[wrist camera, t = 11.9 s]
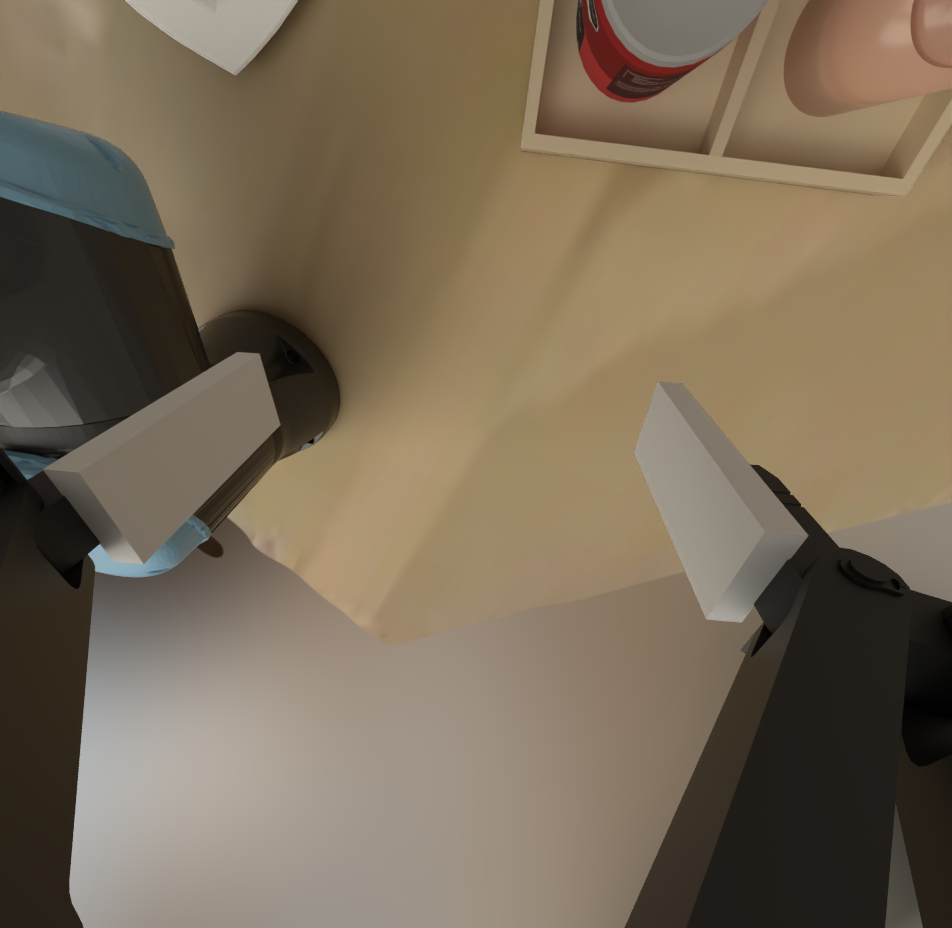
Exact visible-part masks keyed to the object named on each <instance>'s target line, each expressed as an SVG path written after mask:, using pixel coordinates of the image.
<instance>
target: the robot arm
mask: <svg viewBox="0 0 952 928" xmlns="http://www.w3.org/2000/svg"><path fill="white" fill-rule="evenodd" d="M172 248H173V249H175V245H174V242H173V240H172V239H171V238H170V237H168V236H167V234H166V231H165V229H164V226H163V224H162V221H161V219H160V216H159V213H158V211H157V208H156V206H155V203H154V200H153V198H152V195H151V193H150V190H149V187H148V185H147V182H146V180H145V178H144V176H143V174H142V172H141V171H140V169H139V168H138V167H137V165H136V164H135V163H134V162H133V161H132V160H131V159H130V158H129V157H128V156H127V155H126V154H125V153H124V152H123V151H122V150H120V149H119V148H117V147H116V146H114V145H113V144H111V143H110V142H108V141H105V140H103V139H101V138H99V137H97V136H94V135H91V134H88V133H85V132H81V131H78V130H74V129H70V128H67V127H63V126H59V125H56V124H52V123H48V122H44V121H40V120H36V119H32V118H28V117H24V116H20V115H16V114H12V113H8V112H4V111H0V928H83V924H82V922H81V920H80V918H79V916H78V914H77V913H76V911H75V909H74V907H73V905H72V903H71V898H70V893H69V877H70V866H71V853H72V841H73V830H74V817H75V804H76V793H77V781H78V769H79V768H78V767H79V757H80V744H81V733H82V720H83V708H84V696H85V684H86V672H87V660H88V647H89V636H90V624H91V612H92V599H93V587H94V575H95V571H97V572H101V573H105V574H111V575H116V576H125V577H146V576H153V575H156V574H160V573H163V572H166V571H168V570H170V569H171V568H173V567H175V566H176V565H178V564H179V563H180V562H181V561H182V560H183V559H184V558H185V557H186V556H187V555H188V554H189V553H190V552H191V551H193V550H194V549H195V548H196V547H197V546H198V545H199V544H200V543H203V542H204V541H206V540H208V538H209V537H210V536H211V534H212V532H213V531H214V530H215V529H216V528H217V527H218V526H219V525H220V523H221V522H222V521H223V520H224V519H225V518H226V517H227V516H228V515H229V514H230V512H231V511H232V510H233V509H234V508H235V507H236V506H237V505H238V504H239V502H240V501H241V500H242V499H243V498H244V497H245V496H246V495H247V494H248V492H249V491H250V490H251V489H252V488H253V487H254V486H255V485H256V484H257V482H258V481H259V480H260V479H261V478H262V477H263V476H264V475H265V474H266V472H267V471H268V470H269V469H270V468H271V467H272V466H273V465H274V464H275V463H276V462H277V461H279V460H281V459H284V458H286V457H288V456H291V455H293V454H295V453H297V452H299V451H301V450H304V449H306V448H308V447H310V446H312V445H314V444H315V443H316V442H318V441H319V440H320V439H321V438H322V437H323V436H324V435H325V433H326V432H327V431H328V430H329V429H330V428H331V426H332V425H333V423H334V421H335V419H336V417H337V414H338V410H339V391H338V386H337V382H336V379H335V376H334V374H333V372H332V369H331V367H330V366H329V364H328V362H327V360H326V359H325V357H324V356H323V355H322V353H321V352H320V351H319V349H318V348H317V347H316V346H315V345H314V344H313V343H312V342H311V341H310V340H309V339H308V338H307V337H306V336H305V335H304V334H302V333H301V332H300V331H299V330H297V329H296V328H294V327H293V326H291V325H290V324H288V323H286V322H284V321H283V320H280V319H278V318H276V317H274V316H271V315H268V314H264V313H261V312H255V311H235V312H231V313H227V314H225V315H222V316H220V317H217V318H215V319H213V320H211V321H209V322H207V323H205V324H204V325H202V326H201V327H200V328H199V329H198V327H197V324H196V321H195V318H194V315H193V312H192V309H191V306H190V303H189V300H188V297H187V294H186V291H185V288H184V285H183V282H182V279H181V276H180V273H179V270H178V267H177V263H176V260H175V257H174V254H173V251H172ZM634 454H635V456H636V459H637V461H638V463H639V466H640V468H641V470H642V473H643V475H644V477H645V479H646V482H647V484H648V486H649V489H650V491H651V493H652V496H653V498H654V500H655V502H656V505H657V507H658V509H659V512H660V514H661V516H662V519H663V521H664V523H665V525H666V528H667V530H668V532H669V535H670V537H671V539H672V542H673V544H674V546H675V548H676V551H677V553H678V555H679V558H680V560H681V562H682V565H683V567H684V569H685V571H686V574H687V576H688V578H689V581H690V583H691V585H692V588H693V590H694V592H695V594H696V597H697V599H698V601H699V604H700V606H701V608H702V611H703V613H704V615H705V617H706V619H710V620H720V621H732V622H742V621H743V620H744V619H745V617H746V616H747V615H748V613H749V612H750V611H751V610H752V608H753V607H754V606H755V607H756V609H757V611H758V613H759V615H760V616H761V618H762V620H763V624H762V625H761V626H760V627H759V628H758V630H757V631H756V632H755V633H754V634H753V636H752V637H751V638H750V639H749V640H748V642H747V643H746V644H745V645H744V647H743V648H742V649H741V651H743V652H744V653H745V654H746V655H745V657H744V660H743V662H742V664H741V666H740V669H739V671H738V673H737V675H736V678H735V680H734V682H733V684H732V687H731V689H730V691H729V693H728V696H727V698H726V700H725V702H724V705H723V707H722V709H721V711H720V714H719V716H718V718H717V720H716V723H715V725H714V727H713V729H712V732H711V734H710V736H709V738H708V741H707V743H706V745H705V748H704V750H703V752H702V754H701V756H700V759H699V761H698V763H697V766H696V768H695V770H694V772H693V775H692V777H691V779H690V781H689V784H688V786H687V788H686V790H685V793H684V795H683V797H682V799H681V802H680V804H679V806H678V808H677V811H676V813H675V815H674V817H673V820H672V822H671V824H670V826H669V829H668V831H667V833H666V836H665V838H664V840H663V842H662V844H661V847H660V849H659V852H658V854H657V856H656V858H655V860H654V863H653V865H652V867H651V869H650V871H649V874H648V876H647V878H646V881H645V883H644V885H643V887H642V890H641V892H640V894H639V896H638V899H637V901H636V903H635V905H634V908H633V910H632V912H631V914H630V917H629V919H628V921H627V923H626V926H625V928H885V920H886V907H887V896H888V884H889V872H890V860H891V848H892V836H893V824H894V810H895V801H896V805H897V810H898V815H899V819H900V823H901V828H902V833H903V837H904V842H905V846H906V851H907V856H908V861H909V865H910V870H911V874H912V879H913V884H914V888H915V893H916V897H917V902H918V906H919V911H920V916H921V920H922V925H923V928H952V602H949V601H946V600H942V599H939V598H935V597H932V596H929V595H926V594H922V593H919V592H916V591H912V590H910V588H909V587H908V585H907V584H906V583H905V582H904V581H903V579H902V578H901V577H900V576H899V575H898V574H897V573H895V572H894V571H893V570H891V569H890V568H889V567H887V566H886V565H885V564H883V563H881V562H879V561H877V560H876V559H874V558H872V557H870V556H868V555H865V554H862V553H860V552H857V551H854V550H851V549H845V548H839V547H838V546H837V544H836V543H835V542H834V541H833V540H832V539H831V537H829V535H828V534H827V533H826V532H825V531H824V530H823V528H822V527H821V526H820V525H819V524H818V523H817V522H816V521H815V519H814V518H813V517H812V516H811V515H810V514H809V513H808V512H807V510H806V509H805V508H804V507H801V504H800V503H799V501H798V500H797V499H796V498H795V497H794V496H793V495H790V493H791V492H790V491H789V490H788V489H787V488H786V487H785V486H784V484H783V483H782V482H781V481H780V480H779V479H778V478H777V477H775V476H774V475H772V474H771V473H770V472H768V471H767V470H765V469H764V468H762V467H761V466H759V465H750V464H749V463H748V462H747V461H746V459H745V458H744V457H743V456H742V455H741V453H740V452H739V451H738V450H737V449H736V447H735V446H734V445H733V444H732V443H731V441H730V440H729V439H728V438H727V437H726V435H725V434H724V433H723V432H722V431H721V429H720V428H719V427H718V426H717V425H716V423H715V422H714V421H713V420H712V418H711V417H710V416H709V415H708V414H707V412H706V411H705V410H704V409H703V408H702V406H701V405H700V404H699V403H698V402H697V400H696V399H695V398H694V397H693V396H692V394H691V393H690V392H689V391H688V390H687V388H686V387H685V386H684V385H683V384H682V383H673V382H657V385H656V388H655V391H654V394H653V397H652V400H651V403H650V406H649V409H648V412H647V415H646V418H645V421H644V424H643V427H642V430H641V433H640V436H639V439H638V442H637V445H636V448H635V451H634Z"/></svg>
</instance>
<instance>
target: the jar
mask: <svg viewBox="0 0 952 928" xmlns="http://www.w3.org/2000/svg"><path fill="white" fill-rule="evenodd" d="M784 84H785V89H786V92H787V95H788V97H789V99H790V101H791V102H792V104H793V105H794V106H795V107H796V108H797V109H798V110H800V111H801V112H802V113H805V114H807V115H810V116H814V117H828V116H834V115H838V114H843V113H847V112H851V111H856V110H860V109H864V108H869V107H873V106H877V105H882V104H886V103H890V102H895V101H899V100H903V99H908V98H912V97H916V96H921V95H925V94H929V93H934V92H938V91H942V90H947V89H951V88H952V0H809V1H808V3H807V4H806V6H805V8H804V9H803V11H802V13H801V15H800V16H799V18H798V20H797V22H796V24H795V27H794V29H793V31H792V34H791V37H790V40H789V42H788V46H787V50H786V54H785V61H784Z"/></svg>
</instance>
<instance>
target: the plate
mask: <svg viewBox="0 0 952 928" xmlns="http://www.w3.org/2000/svg"><path fill="white" fill-rule="evenodd" d="M125 1H126V2H127V3H128V4H129V5H131V6H132V7H133V8H134V9H135V10H136V11H137V12H138V13H139V14H141V15H142V16H143V17H145V18H146V19H147V20H149V21H150V22H151V23H153V24H154V25H155V26H157V27H158V28H160V29H161V30H162V31H164V32H165V33H166V34H168V35H169V36H170V37H172V38H173V39H175V40H177V41H178V42H180V43H181V44H183V45H185V46H186V47H188V48H190V49H191V50H193V51H194V52H196V53H198V54H199V55H201V56H203V57H204V58H206V59H208V60H209V61H211V62H213V63H214V64H216V65H218V66H220V67H221V68H223V69H225V70H227V71H228V72H230V73H232V74H234V75H235V76H236V75H238V74H239V73H240V72H241V71H242V70H243V69H244V68H245V67H246V66H247V65H248V64H249V63H250V62H251V61H252V60H253V59H254V58H255V57H256V55H257V54H258V53H259V52H260V51H261V50H262V48H263V47H264V46H265V45H266V44H267V42H268V41H269V40H270V39H271V38H272V37H273V35H274V34H275V33H276V32H277V31H278V29H279V28H280V26H281V25H282V24H283V22H284V21H285V19H286V18H287V16H288V15H289V13H290V12H291V11H292V9H293V8H294V6H295V5H296V3H297V2H298V0H125Z"/></svg>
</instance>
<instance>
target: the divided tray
mask: <svg viewBox="0 0 952 928" xmlns="http://www.w3.org/2000/svg"><path fill="white" fill-rule="evenodd" d="M808 1H809V0H769V1H768V2H767V3H766V4H765V6H764V7H763V8H762V10H761V11H760V12H759V13H758V15H757V16H756V17H755V19H754V20H753V21H752V22H751V23H750V24H749V25H748V26H747V27H746V28H745V29H744V30H743V31H742V32H741V33H740V34H739V35H738V36H737V37H736V38H735V39H734V40H733V41H732V42H731V43H729V44H728V45H727V46H725V47H724V48H723V49H722V50H721V51H719V52H718V53H716V54H715V55H714V56H712V57H711V58H709V59H708V60H706V61H705V62H704V63H702V64H701V65H699V66H698V67H697V68H695V69H694V70H692V71H691V72H689V73H688V74H687V75H685V76H684V77H682V78H681V79H679V80H678V81H677V82H675V83H674V84H672V85H671V86H670V87H668V88H667V89H665V90H664V91H662V92H661V93H660V94H658V95H656V96H654V97H652V98H649V99H647V100H644V101H639V102H634V103H630V102H620V101H617V100H614V99H611V98H609V97H608V96H606V95H605V94H603V93H602V92H600V91H599V90H598V88H597V87H596V86H595V85H594V84H593V83H592V82H591V80H590V78H589V76H588V75H587V73H586V71H585V69H584V67H583V64H582V61H581V58H580V55H579V50H578V43H577V37H576V15H577V7H578V0H540V4H539V12H538V19H537V27H536V34H535V42H534V49H533V57H532V64H531V72H530V79H529V87H528V94H527V102H526V109H525V117H524V125H523V132H522V140H521V147H520V148H521V151H525V152H533V153H541V154H549V155H557V156H565V157H573V158H581V159H589V160H597V161H605V162H613V163H621V164H629V165H637V166H645V167H653V168H661V169H669V170H677V171H685V172H693V173H701V174H709V175H717V176H725V177H733V178H741V179H749V180H757V181H765V182H773V183H781V184H789V185H797V186H805V187H813V188H821V189H829V190H837V191H845V192H853V193H861V194H869V195H888V196H907V194H908V193H909V191H910V190H911V188H912V186H913V185H914V183H915V182H916V180H917V178H918V177H919V175H920V174H921V172H922V170H923V169H924V167H925V166H926V164H927V162H928V161H929V159H930V158H931V156H932V154H933V153H934V151H935V150H936V148H937V146H938V145H939V143H940V142H941V140H942V138H943V137H944V135H945V134H946V132H947V130H948V129H949V127H950V126H951V124H952V88H951V89H947V90H942V91H938V92H934V93H929V94H925V95H921V96H916V97H912V98H908V99H903V100H899V101H895V102H890V103H886V104H882V105H877V106H873V107H869V108H864V109H860V110H856V111H851V112H847V113H843V114H838V115H834V116H828V117H814V116H810V115H807V114H805V113H802V112H801V111H800V110H798V109H797V108H796V107H795V106H794V105H793V104H792V102H791V101H790V99H789V97H788V95H787V92H786V89H785V84H784V61H785V54H786V50H787V46H788V42H789V40H790V37H791V34H792V31H793V29H794V27H795V24H796V22H797V20H798V18H799V16H800V15H801V13H802V11H803V9H804V8H805V6H806V4H807V3H808Z"/></svg>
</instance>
